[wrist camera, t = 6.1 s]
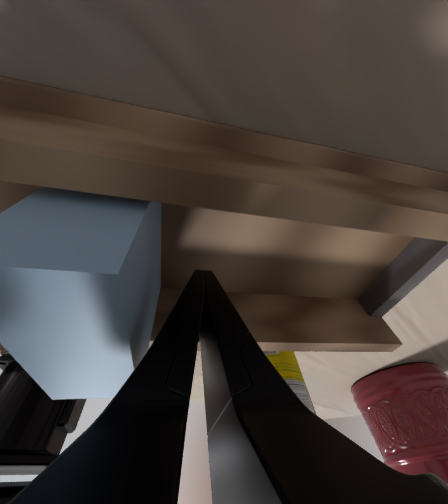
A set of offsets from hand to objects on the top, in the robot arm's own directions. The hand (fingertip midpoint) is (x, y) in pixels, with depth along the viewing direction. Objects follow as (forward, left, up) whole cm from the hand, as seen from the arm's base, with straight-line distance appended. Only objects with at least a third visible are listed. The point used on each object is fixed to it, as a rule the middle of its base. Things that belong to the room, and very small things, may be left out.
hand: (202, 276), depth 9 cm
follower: (-4, 0, -2) cm, 4 cm away
